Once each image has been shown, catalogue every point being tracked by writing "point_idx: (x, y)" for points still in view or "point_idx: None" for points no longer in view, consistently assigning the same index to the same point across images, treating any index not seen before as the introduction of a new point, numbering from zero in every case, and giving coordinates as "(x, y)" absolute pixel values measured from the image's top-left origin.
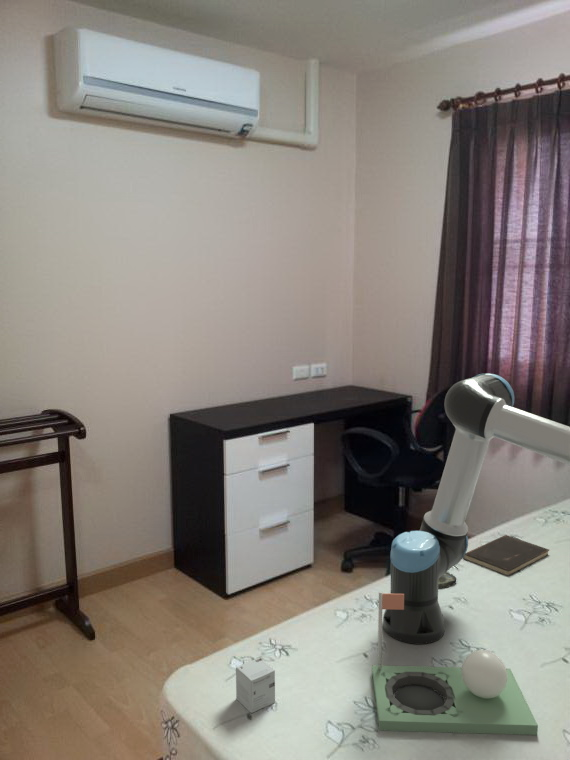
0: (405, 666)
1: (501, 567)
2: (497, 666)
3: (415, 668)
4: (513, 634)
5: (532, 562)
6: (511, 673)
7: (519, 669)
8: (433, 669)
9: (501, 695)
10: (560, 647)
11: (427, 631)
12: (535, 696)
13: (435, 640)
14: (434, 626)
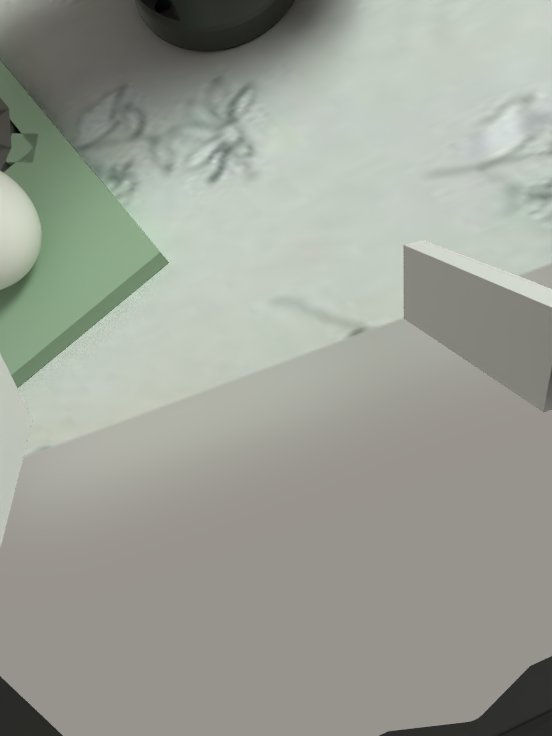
0: (3, 67)
1: None
2: None
3: (11, 87)
4: (384, 173)
5: None
6: (140, 264)
7: (220, 265)
8: (32, 118)
9: (33, 289)
10: None
11: (168, 10)
12: (131, 346)
13: (193, 48)
14: (182, 7)
